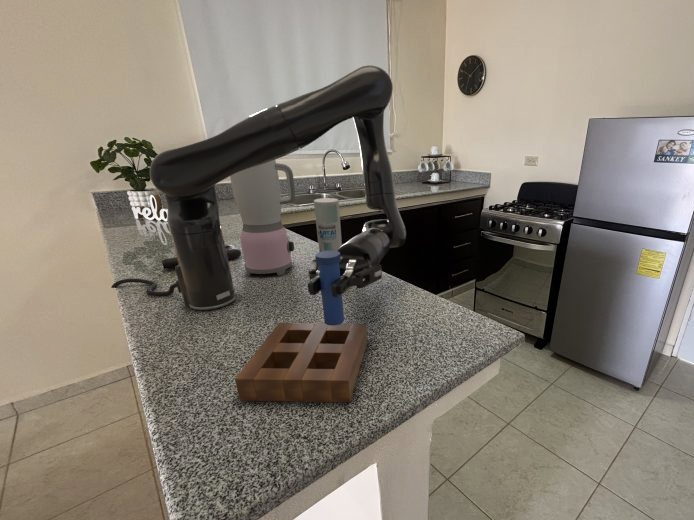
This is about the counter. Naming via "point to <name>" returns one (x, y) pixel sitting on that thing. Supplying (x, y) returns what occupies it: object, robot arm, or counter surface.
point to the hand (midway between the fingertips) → (323, 290)
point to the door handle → (230, 249)
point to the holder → (305, 364)
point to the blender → (263, 217)
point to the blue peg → (330, 286)
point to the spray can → (328, 224)
